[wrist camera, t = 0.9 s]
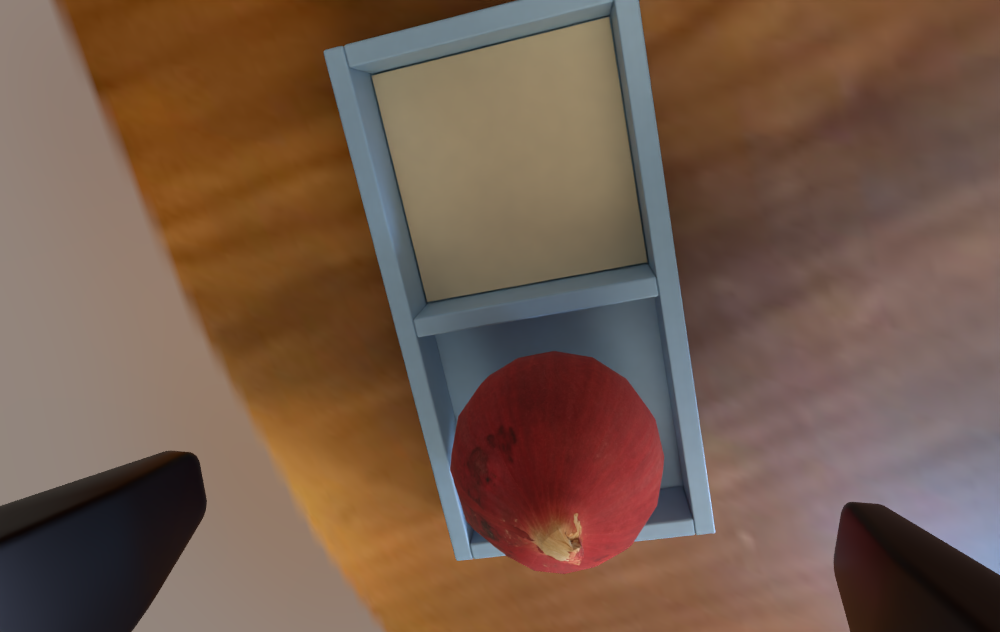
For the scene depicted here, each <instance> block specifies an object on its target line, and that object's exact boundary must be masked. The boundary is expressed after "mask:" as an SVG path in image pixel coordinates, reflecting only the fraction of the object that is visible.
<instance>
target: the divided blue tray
mask: <svg viewBox="0 0 1000 632" xmlns="http://www.w3.org/2000/svg"><path fill="white" fill-rule="evenodd" d="M324 57H325V60H326V64H327V68H328V72H329V76H330V80H331V83H332V87H333V91H334V95H335V99H336V102H337V106H338V110H339V114H340V118H341V122H342V125H343V129H344V133H345V137H346V141H347V145H348V148H349V152H350V156H351V160H352V164H353V168H354V171H355V175H356V179H357V183H358V187H359V190H360V194H361V198H362V202H363V206H364V210H365V213H366V217H367V221H368V225H369V229H370V233H371V236H372V240H373V244H374V248H375V252H376V256H377V259H378V263H379V267H380V271H381V275H382V278H383V282H384V286H385V290H386V294H387V298H388V301H389V305H390V309H391V313H392V317H393V321H394V324H395V328H396V332H397V336H398V340H399V344H400V347H401V351H402V355H403V359H404V363H405V367H406V370H407V374H408V378H409V382H410V386H411V389H412V393H413V397H414V401H415V405H416V409H417V412H418V416H419V420H420V424H421V428H422V432H423V435H424V439H425V443H426V447H427V451H428V455H429V458H430V462H431V466H432V470H433V474H434V477H435V481H436V485H437V489H438V493H439V497H440V500H441V504H442V508H443V512H444V516H445V520H446V523H447V527H448V531H449V535H450V539H451V543H452V546H453V550H454V554H455V558H456V560H457V561H460V560H469V559H472V558H474V559H478V558H488V557H497V556H506V555H505V554H504V553H502V552H501V551H500V550H498V549H497V548H495V547H494V546H493V545H492V544H491V543H490V542H489V541H487V540H486V539H485V538H484V537H482V536H481V535H480V534H479V533H477V532H476V531H475V530H474V529H473V528H472V527H471V526H470V524H469V523H468V522H467V521H466V518H465V515H464V512H463V509H462V506H461V503H460V499H459V496H458V493H457V490H456V487H455V484H454V480H453V477H452V474H451V471H450V465H451V454H452V448H453V443H454V437H455V432H456V426H457V421H458V416H459V415H460V413H461V412H462V410H463V409H464V407H465V406H466V404H467V403H468V402H469V400H470V399H471V397H472V396H473V394H474V393H475V392H476V390H477V389H478V387H479V386H480V384H481V383H482V382H483V381H484V380H485V379H486V378H487V377H488V376H489V375H491V374H492V373H494V372H496V371H497V370H499V369H501V368H502V367H504V366H506V365H507V364H509V363H510V362H512V361H514V360H515V359H517V358H519V357H525V356H530V355H535V354H540V353H545V352H550V351H558V352H564V353H570V354H576V355H582V356H588V357H593V358H595V359H596V360H598V361H599V362H601V363H602V364H604V365H606V366H607V367H609V368H610V369H612V370H613V371H615V372H617V373H618V374H620V375H621V376H623V377H624V378H626V379H627V380H628V382H629V383H630V384H631V385H632V387H633V388H634V390H635V391H636V392H637V394H638V395H639V396H640V398H641V399H642V401H643V402H644V403H645V405H646V406H647V407H648V409H649V410H650V412H651V413H652V415H653V416H654V418H655V420H656V424H657V428H658V432H659V436H660V441H661V445H662V449H663V453H664V466H663V474H662V480H661V486H660V491H659V497H658V503H657V507H656V508H655V510H654V512H653V513H652V515H651V516H650V518H649V519H648V521H647V523H646V524H645V526H644V527H643V529H642V530H641V532H640V533H639V535H638V536H637V538H636V539H635V541H643V540H653V539H662V538H671V537H680V536H689V535H695V533H696V535H701V534H710V533H715V526H714V519H713V512H712V505H711V498H710V491H709V484H708V477H707V470H706V463H705V456H704V449H703V443H702V436H701V429H700V422H699V415H698V408H697V401H696V394H695V387H694V380H693V373H692V366H691V359H690V352H689V345H688V338H687V332H686V325H685V318H684V311H683V304H682V297H681V290H680V283H679V276H678V269H677V262H676V255H675V248H674V241H673V234H672V227H671V220H670V214H669V207H668V200H667V193H666V186H665V179H664V172H663V165H662V158H661V151H660V144H659V137H658V130H657V123H656V116H655V109H654V102H653V96H652V89H651V82H650V75H649V68H648V61H647V54H646V47H645V40H644V33H643V26H642V19H641V12H640V5H639V0H517V1H513V2H509V3H505V4H501V5H497V6H493V7H490V8H486V9H482V10H478V11H474V12H470V13H466V14H462V15H459V16H455V17H451V18H447V19H443V20H439V21H435V22H431V23H428V24H424V25H420V26H416V27H412V28H408V29H404V30H400V31H397V32H393V33H389V34H385V35H381V36H377V37H373V38H369V39H366V40H362V41H358V42H354V43H350V44H346V45H345V46H338V47H335V48H331V49H327V50H325V51H324Z"/></svg>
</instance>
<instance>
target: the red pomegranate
mask: <svg viewBox="0 0 1000 632" xmlns="http://www.w3.org/2000/svg"><path fill="white" fill-rule="evenodd" d="M663 466H664V453H663V449H662V445H661V441H660V436H659V432H658V428H657V424H656V420H655V418H654V416H653V415H652V413H651V412H650V410H649V409H648V407H647V406H646V405H645V403H644V402H643V401H642V399H641V398H640V396H639V395H638V394H637V392H636V391H635V390H634V388H633V387H632V385H631V384H630V383H629V382H628V380H627V379H626V378H624V377H623V376H621V375H620V374H618V373H617V372H615V371H613V370H612V369H610V368H609V367H607V366H606V365H604V364H602V363H601V362H599V361H598V360H596V359H595V358H593V357H588V356H582V355H576V354H570V353H564V352H558V351H550V352H545V353H540V354H535V355H530V356H525V357H519V358H517V359H515V360H514V361H512V362H510V363H509V364H507V365H506V366H504V367H502V368H501V369H499V370H497V371H496V372H494V373H492V374H491V375H489V376H488V377H487V378H486V379H485V380H484V381H483V382H482V383H481V384H480V386H479V387H478V389H477V390H476V392H475V393H474V394H473V396H472V397H471V399H470V400H469V402H468V403H467V404H466V406H465V407H464V409H463V410H462V412H461V413H460V415H459V416H458V421H457V426H456V432H455V437H454V443H453V448H452V454H451V465H450V471H451V474H452V477H453V480H454V484H455V487H456V490H457V493H458V496H459V499H460V503H461V506H462V509H463V512H464V515H465V518H466V521H467V522H468V523H469V524H470V526H471V527H472V528H473V529H474V530H475V531H476V532H477V533H479V534H480V535H481V536H482V537H484V538H485V539H486V540H487V541H489V542H490V543H491V544H492V545H493V546H494V547H495V548H497V549H498V550H500V551H501V552H502V553H504V554H505V555H506V556H508V557H510V558H512V559H514V560H515V561H517V562H519V563H521V564H523V565H525V566H527V567H529V568H530V569H532V570H534V571H543V572H553V573H562V574H566V573H570V572H574V571H579V570H583V569H588V568H592V567H595V566H598V565H600V564H601V563H603V562H605V561H607V560H608V559H610V558H612V557H614V556H616V555H617V554H619V553H621V552H623V551H624V550H626V549H627V548H628V547H630V546H631V545H632V544H633V542H634V541H635V539H636V538H637V536H638V535H639V533H640V532H641V530H642V529H643V527H644V526H645V524H646V523H647V521H648V519H649V518H650V516H651V515H652V513H653V512H654V510H655V508H656V507H657V503H658V497H659V491H660V486H661V480H662V474H663Z"/></svg>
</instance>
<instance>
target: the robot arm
mask: <svg viewBox="0 0 1000 632" xmlns="http://www.w3.org/2000/svg"><path fill="white" fill-rule="evenodd" d="M206 502H207V500H206V494H205V489H204V483H203V478H202V473H201V467H200V463H199V460H198V458H197V456H196V455H194V454H193V453H190V452H179V451H165V452H162V453H159V454H156V455H153V456H150V457H147V458H144V459H141V460H138V461H135V462H132V463H129V464H126V465H123V466H120V467H117V468H114V469H111V470H108V471H105V472H102V473H99V474H96V475H93V476H89V477H87V478H83V479H80V480H78V481H74V482H72V483H68V484H65V485H62V486H59V487H56V488H53V489H50V490H48V491H44V492H41V493H38V494H35V495H32V496H29V497H26V498H23V499H20V500H17V501H14V502H11V503H8V504H5V505H2V506H0V632H131V631H132V630H133V629H134V628H135V626H136V625H137V623H138V622H139V621H140V619H141V618H142V616H143V615H144V613H145V612H146V610H147V609H148V608H149V606H150V605H151V603H152V601H153V600H154V598H155V597H156V595H157V594H158V592H159V590H160V589H161V587H162V585H163V584H164V582H165V580H166V579H167V577H168V575H169V574H170V572H171V570H172V568H173V567H174V565H175V564H176V562H177V560H178V559H179V557H180V555H181V554H182V552H183V550H184V548H185V547H186V545H187V544H188V542H189V540H190V539H191V537H192V535H193V534H194V532H195V530H196V529H197V527H198V525H199V524H200V522H201V520H202V519H203V516H204V513H205V511H206ZM834 572H835V577H836V581H837V585H838V588H839V592H840V596H841V599H842V603H843V606H844V610H845V614H846V617H847V621H848V624H849V628H850V632H1000V575H999V574H997V573H995V572H994V571H992V570H990V569H989V568H987V567H985V566H984V565H982V564H980V563H979V562H977V561H975V560H974V559H972V558H970V557H969V556H967V555H965V554H964V553H962V552H960V551H959V550H957V549H955V548H954V547H952V546H950V545H949V544H947V543H945V542H944V541H942V540H940V539H939V538H937V537H935V536H934V535H932V534H930V533H929V532H927V531H925V530H924V529H922V528H920V527H918V526H917V525H915V524H913V523H912V522H910V521H908V520H907V519H905V518H903V517H902V516H900V515H898V514H897V513H895V512H893V511H892V510H890V509H888V508H887V507H885V506H883V505H880V504H873V503H859V502H849V503H847V504H846V505H845V506H844V507H843V509H842V512H841V517H840V523H839V529H838V535H837V541H836V547H835V553H834Z"/></svg>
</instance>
